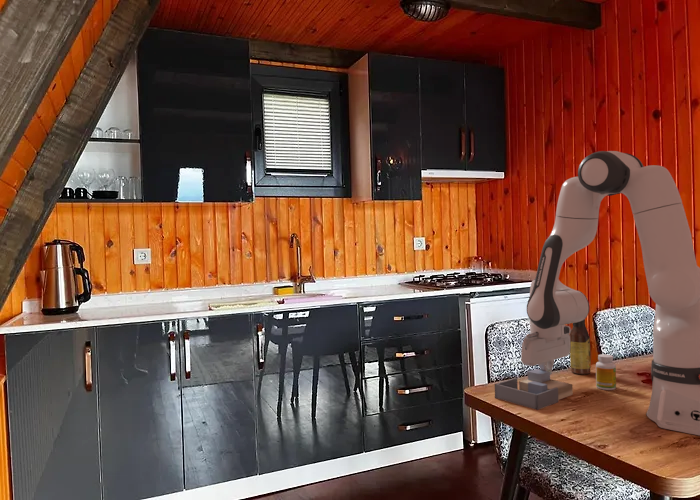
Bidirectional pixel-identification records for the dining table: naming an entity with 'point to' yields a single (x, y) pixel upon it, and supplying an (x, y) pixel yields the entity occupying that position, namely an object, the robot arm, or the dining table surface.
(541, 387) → the tile
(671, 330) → the robot arm
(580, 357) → the sauce bottle
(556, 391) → the tray
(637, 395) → the dining table surface
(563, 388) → the board
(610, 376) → the supplement bottle
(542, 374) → the tile
